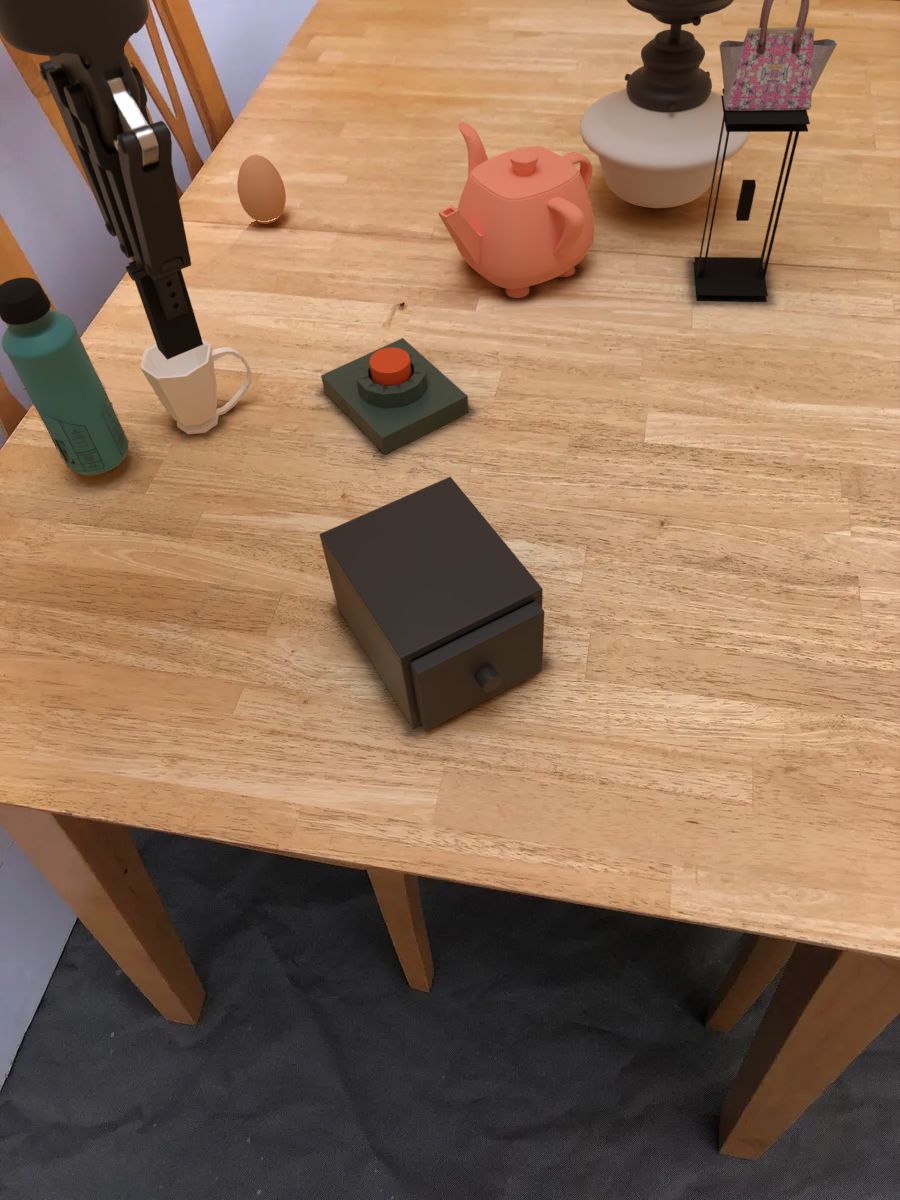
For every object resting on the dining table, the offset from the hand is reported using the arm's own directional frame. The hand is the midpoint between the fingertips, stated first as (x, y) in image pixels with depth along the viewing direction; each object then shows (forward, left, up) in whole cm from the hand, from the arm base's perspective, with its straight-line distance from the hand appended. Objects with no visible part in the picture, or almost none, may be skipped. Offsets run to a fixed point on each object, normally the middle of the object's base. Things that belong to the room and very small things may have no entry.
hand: (180, 346), depth 63 cm
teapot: (-23, +46, -24) cm, 57 cm away
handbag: (-5, +63, -24) cm, 67 cm away
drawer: (+18, +8, -23) cm, 30 cm away
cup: (-21, +6, -24) cm, 32 cm away
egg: (-51, +28, -24) cm, 63 cm away
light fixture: (-23, +68, -24) cm, 75 cm away
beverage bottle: (-21, -6, -24) cm, 33 cm away
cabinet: (+16, +9, -24) cm, 30 cm away
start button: (-11, +22, -20) cm, 32 cm away
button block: (-11, +22, -24) cm, 34 cm away
